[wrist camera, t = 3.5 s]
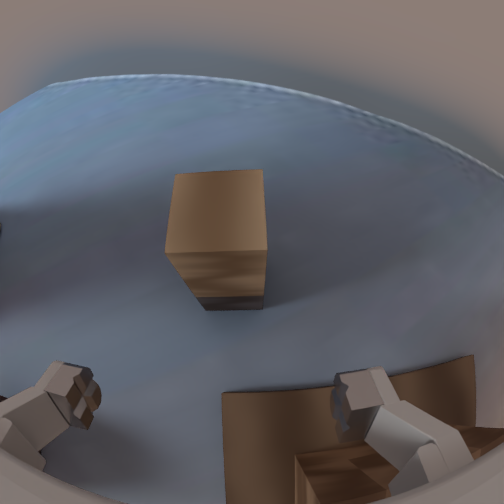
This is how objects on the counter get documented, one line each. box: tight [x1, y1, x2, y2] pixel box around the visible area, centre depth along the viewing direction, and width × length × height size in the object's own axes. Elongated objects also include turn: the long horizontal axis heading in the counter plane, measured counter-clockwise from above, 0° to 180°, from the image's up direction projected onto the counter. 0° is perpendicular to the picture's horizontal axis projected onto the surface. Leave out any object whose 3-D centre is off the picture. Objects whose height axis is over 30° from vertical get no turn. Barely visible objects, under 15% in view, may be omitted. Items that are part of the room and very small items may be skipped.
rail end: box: [165, 169, 267, 311], centre depth 18 cm, size 4×4×11 cm
